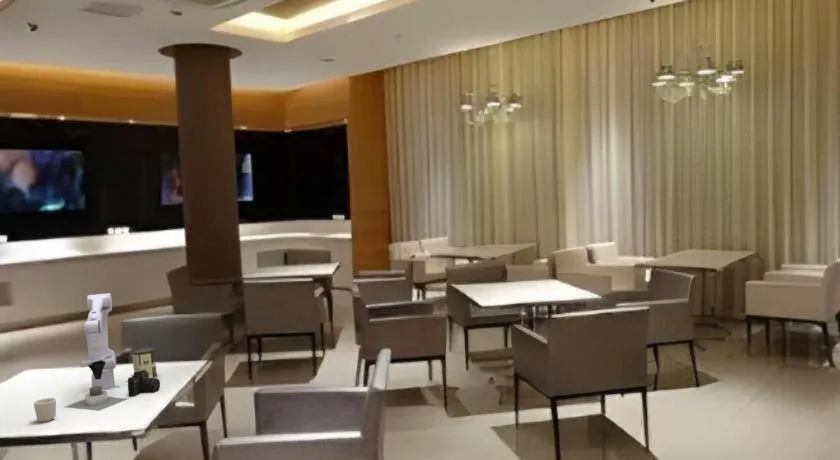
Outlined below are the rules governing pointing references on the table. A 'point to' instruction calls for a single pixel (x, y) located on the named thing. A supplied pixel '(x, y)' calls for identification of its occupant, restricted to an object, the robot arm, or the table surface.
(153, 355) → the coffee can
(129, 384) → the camera
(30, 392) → the table surface
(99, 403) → the beige donut ring
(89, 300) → the robot arm
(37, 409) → the cup
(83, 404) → the mat
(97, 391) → the dark bulb knob
